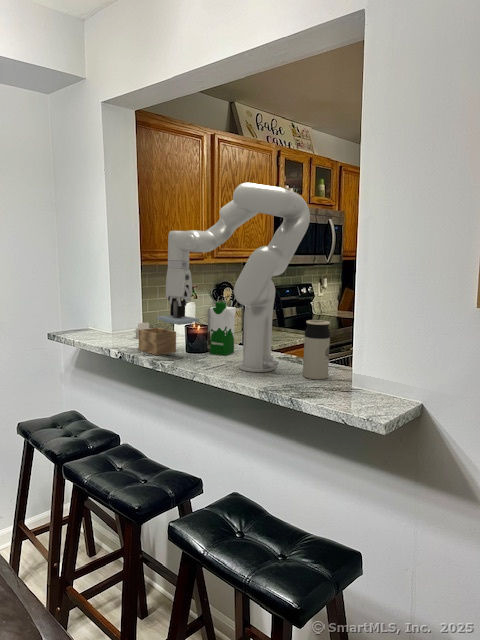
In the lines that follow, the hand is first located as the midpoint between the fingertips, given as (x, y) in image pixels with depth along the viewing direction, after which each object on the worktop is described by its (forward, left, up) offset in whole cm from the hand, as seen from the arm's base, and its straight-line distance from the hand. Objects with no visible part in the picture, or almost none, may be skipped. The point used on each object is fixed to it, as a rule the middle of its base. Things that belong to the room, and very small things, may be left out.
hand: (177, 315), depth 172 cm
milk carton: (-5, -18, -16) cm, 25 cm away
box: (+14, -1, -16) cm, 21 cm away
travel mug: (-50, -16, -16) cm, 55 cm away
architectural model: (+40, -13, -16) cm, 45 cm away
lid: (0, 0, -2) cm, 2 cm away
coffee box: (+4, -25, -16) cm, 30 cm away
